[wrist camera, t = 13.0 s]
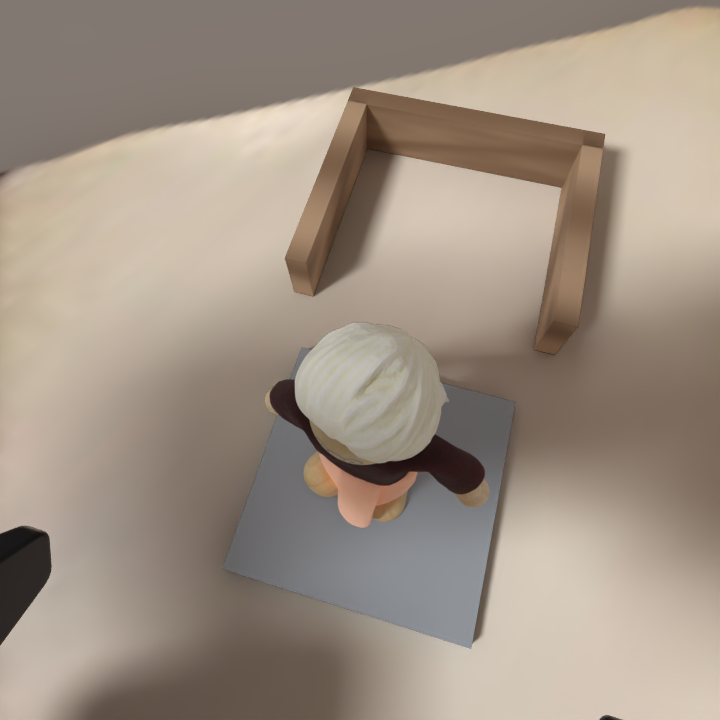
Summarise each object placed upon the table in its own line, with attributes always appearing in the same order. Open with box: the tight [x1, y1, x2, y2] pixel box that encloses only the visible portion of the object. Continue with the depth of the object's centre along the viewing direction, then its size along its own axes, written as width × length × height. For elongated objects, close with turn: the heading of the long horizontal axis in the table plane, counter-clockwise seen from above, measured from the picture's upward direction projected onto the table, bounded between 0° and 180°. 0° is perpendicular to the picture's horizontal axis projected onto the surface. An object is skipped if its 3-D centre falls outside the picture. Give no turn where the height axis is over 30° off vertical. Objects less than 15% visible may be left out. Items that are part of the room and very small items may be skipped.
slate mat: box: [222, 347, 516, 649], centre depth 22 cm, size 10×10×1 cm
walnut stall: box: [285, 87, 605, 355], centre depth 26 cm, size 11×13×3 cm
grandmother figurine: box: [265, 322, 489, 528], centre depth 16 cm, size 8×4×13 cm, turn 75°
